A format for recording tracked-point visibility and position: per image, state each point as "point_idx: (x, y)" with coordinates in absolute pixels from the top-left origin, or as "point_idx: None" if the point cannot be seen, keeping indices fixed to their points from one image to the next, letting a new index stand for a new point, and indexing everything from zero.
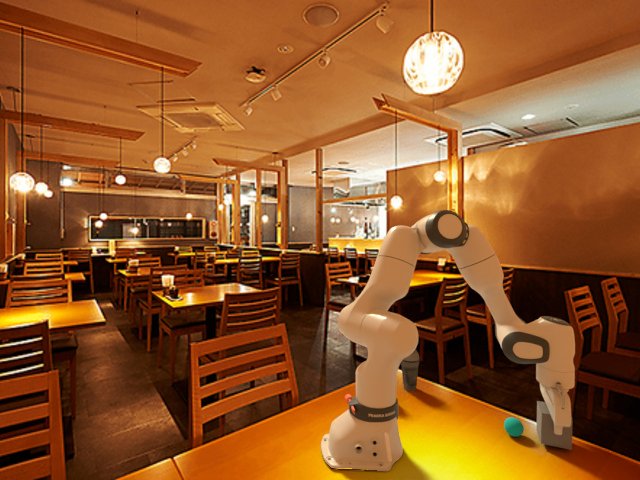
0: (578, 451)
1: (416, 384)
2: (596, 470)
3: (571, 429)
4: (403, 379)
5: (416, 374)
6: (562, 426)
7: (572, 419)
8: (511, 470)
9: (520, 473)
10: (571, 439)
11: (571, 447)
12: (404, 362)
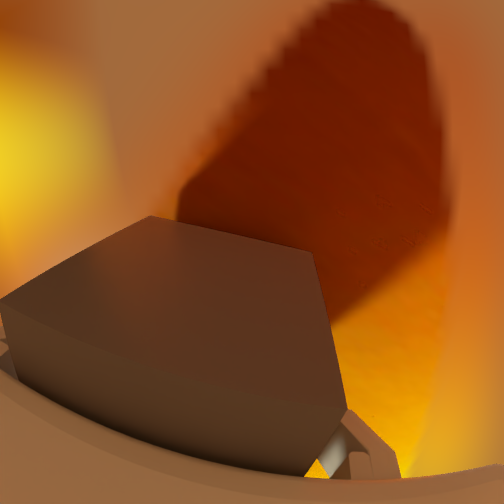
0: (272, 189)
1: None
2: (427, 185)
3: (325, 325)
4: None
5: None
6: (375, 439)
7: (344, 398)
8: (399, 459)
9: (414, 445)
10: (316, 281)
11: (311, 258)
12: None
